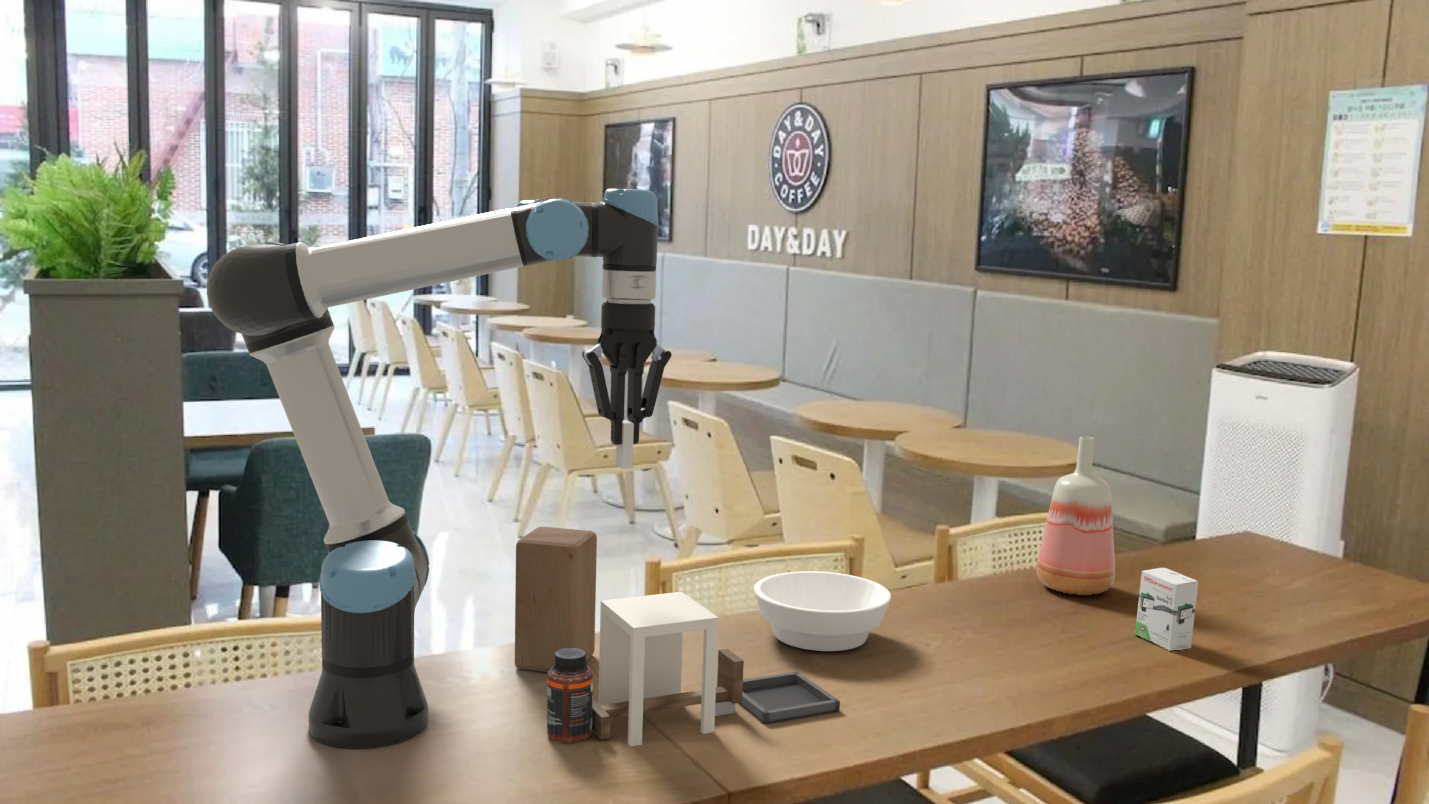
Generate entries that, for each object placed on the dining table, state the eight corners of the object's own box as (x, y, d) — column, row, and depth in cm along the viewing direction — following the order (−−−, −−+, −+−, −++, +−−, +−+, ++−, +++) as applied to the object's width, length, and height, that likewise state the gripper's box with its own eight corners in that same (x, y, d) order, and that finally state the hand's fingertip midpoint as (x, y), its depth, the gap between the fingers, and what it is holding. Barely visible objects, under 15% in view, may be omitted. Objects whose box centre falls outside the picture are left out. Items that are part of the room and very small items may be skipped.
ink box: (1133, 635, 205) (1139, 568, 203) (1155, 632, 206) (1161, 566, 205) (1170, 652, 197) (1176, 583, 195) (1193, 649, 199) (1200, 580, 197)
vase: (1116, 585, 234) (1129, 435, 230) (1108, 605, 221) (1122, 447, 217) (1041, 574, 240) (1052, 428, 235) (1029, 593, 227) (1040, 439, 222)
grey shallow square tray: (764, 724, 163) (764, 713, 162) (724, 692, 173) (725, 682, 173) (839, 711, 168) (840, 701, 168) (796, 681, 178) (797, 671, 178)
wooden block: (576, 677, 177) (578, 546, 174) (512, 670, 179) (513, 540, 176) (596, 654, 187) (598, 529, 184) (535, 648, 188) (536, 524, 186)
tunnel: (630, 746, 154) (633, 627, 152) (598, 712, 165) (600, 600, 162) (750, 726, 162) (755, 612, 159) (712, 694, 172) (716, 587, 170)
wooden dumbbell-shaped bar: (600, 739, 155) (602, 684, 154) (582, 718, 161) (583, 665, 160) (744, 715, 164) (747, 663, 163) (722, 696, 170) (724, 646, 169)
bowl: (733, 650, 191) (735, 599, 190) (775, 610, 212) (777, 564, 211) (871, 672, 183) (874, 620, 182) (901, 628, 204) (903, 581, 203)
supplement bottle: (601, 733, 158) (603, 650, 156) (574, 749, 153) (576, 664, 151) (564, 722, 161) (566, 641, 159) (537, 738, 156) (538, 654, 154)
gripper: (593, 302, 161) (589, 474, 165) (682, 303, 167) (676, 469, 170) (575, 298, 168) (571, 463, 171) (660, 299, 174) (655, 459, 177)
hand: (624, 466), depth 171 cm, fingers closed
